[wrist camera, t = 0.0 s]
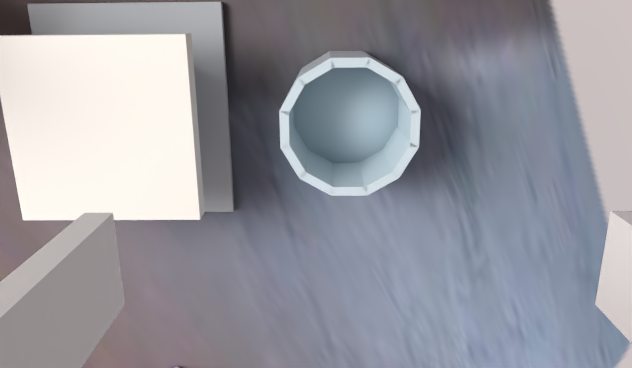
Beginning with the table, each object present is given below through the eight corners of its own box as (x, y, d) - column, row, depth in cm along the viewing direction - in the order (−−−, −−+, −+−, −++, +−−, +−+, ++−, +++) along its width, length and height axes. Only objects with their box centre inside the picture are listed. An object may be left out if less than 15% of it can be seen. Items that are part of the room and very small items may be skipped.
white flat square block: (3, 35, 34) (-11, 36, 33) (191, 33, 34) (185, 34, 32) (34, 212, 38) (23, 220, 36) (204, 211, 38) (200, 219, 36)
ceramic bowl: (285, 51, 40) (277, 58, 33) (406, 50, 40) (423, 56, 33) (288, 167, 43) (281, 195, 36) (402, 167, 43) (416, 195, 36)
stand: (31, 3, 39) (-19, 2, 34) (222, 2, 39) (204, -1, 33) (64, 209, 44) (25, 238, 38) (234, 209, 44) (220, 238, 38)
